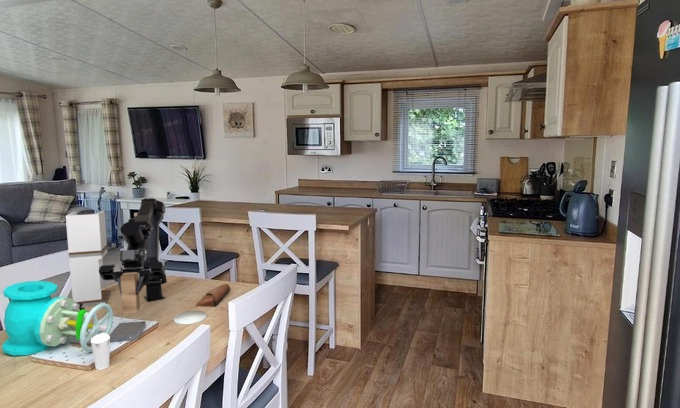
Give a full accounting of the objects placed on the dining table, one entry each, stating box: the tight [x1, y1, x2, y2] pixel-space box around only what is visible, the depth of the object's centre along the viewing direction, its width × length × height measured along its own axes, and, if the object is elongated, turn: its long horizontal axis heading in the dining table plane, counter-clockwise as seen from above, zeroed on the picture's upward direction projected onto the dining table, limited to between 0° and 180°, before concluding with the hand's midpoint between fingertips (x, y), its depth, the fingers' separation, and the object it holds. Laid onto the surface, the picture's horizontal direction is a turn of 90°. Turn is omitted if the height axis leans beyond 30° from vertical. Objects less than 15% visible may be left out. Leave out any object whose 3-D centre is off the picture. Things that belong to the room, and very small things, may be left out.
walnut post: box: [120, 272, 141, 314], centre depth 131 cm, size 4×4×12 cm
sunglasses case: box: [195, 283, 231, 308], centre depth 164 cm, size 18×7×7 cm
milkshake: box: [88, 331, 111, 371], centre depth 111 cm, size 5×5×10 cm
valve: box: [1, 280, 114, 356], centre depth 122 cm, size 14×18×30 cm
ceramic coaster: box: [173, 310, 208, 326], centre depth 145 cm, size 11×11×1 cm
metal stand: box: [109, 320, 147, 343], centre depth 132 cm, size 10×8×2 cm
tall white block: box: [65, 210, 112, 308], centre depth 160 cm, size 11×11×35 cm
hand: (129, 294), depth 130 cm, fingers closed on walnut post, 4 cm apart
